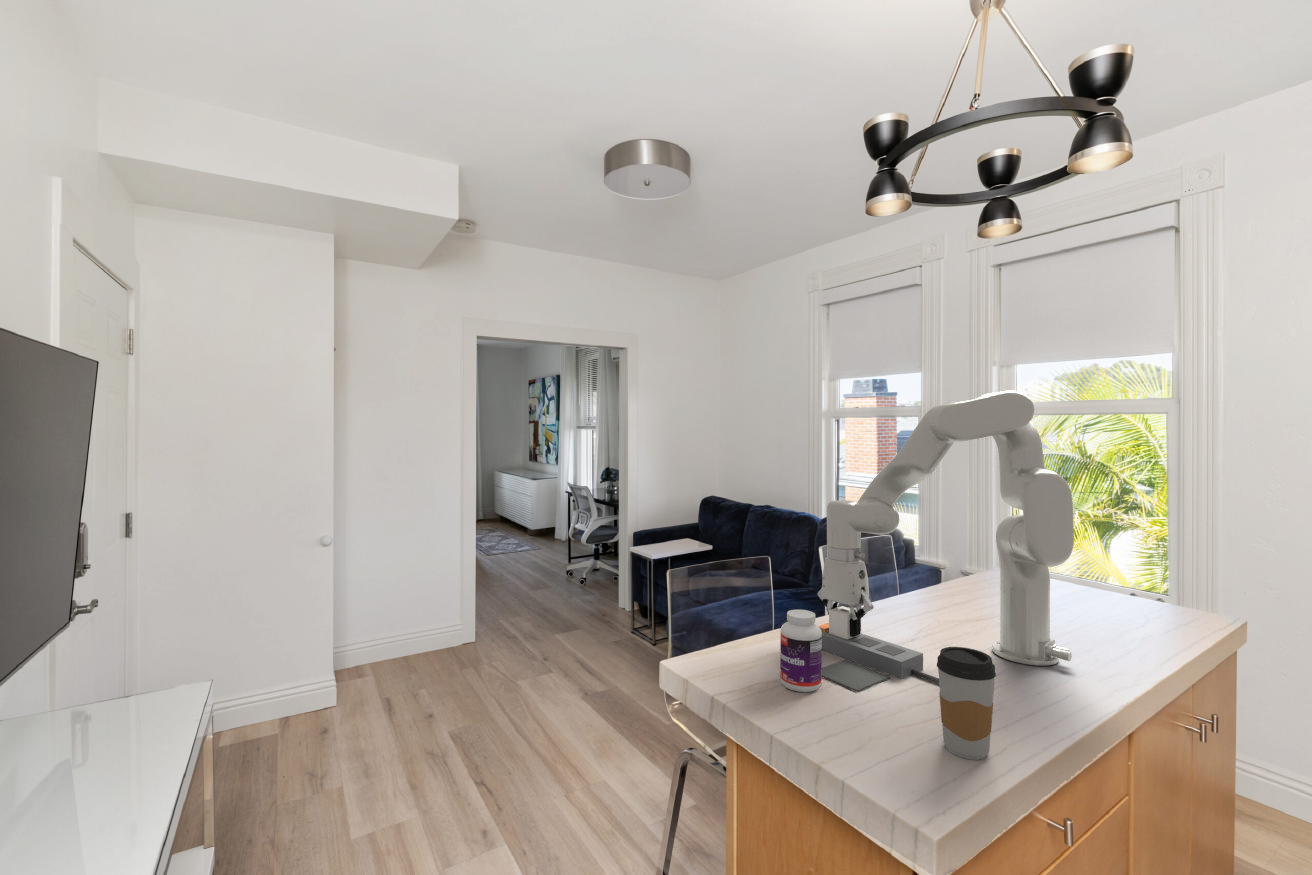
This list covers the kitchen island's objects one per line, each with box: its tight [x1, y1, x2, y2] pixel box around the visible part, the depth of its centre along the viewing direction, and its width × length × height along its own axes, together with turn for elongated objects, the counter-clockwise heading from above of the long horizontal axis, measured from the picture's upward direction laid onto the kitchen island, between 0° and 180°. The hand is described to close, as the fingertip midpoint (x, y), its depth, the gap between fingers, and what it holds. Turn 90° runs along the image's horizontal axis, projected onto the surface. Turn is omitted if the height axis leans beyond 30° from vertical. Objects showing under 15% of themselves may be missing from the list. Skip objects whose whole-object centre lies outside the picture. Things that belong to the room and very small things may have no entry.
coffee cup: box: [936, 646, 997, 761], centre depth 91 cm, size 8×8×15 cm
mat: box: [822, 658, 892, 693], centre depth 119 cm, size 11×11×1 cm
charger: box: [828, 605, 862, 639], centre depth 134 cm, size 5×5×6 cm
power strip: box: [817, 622, 939, 684], centre depth 125 cm, size 36×8×4 cm, turn 35°
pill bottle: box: [779, 609, 823, 693], centre depth 115 cm, size 8×8×14 cm
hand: (844, 631), depth 134 cm, fingers closed on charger, 4 cm apart
